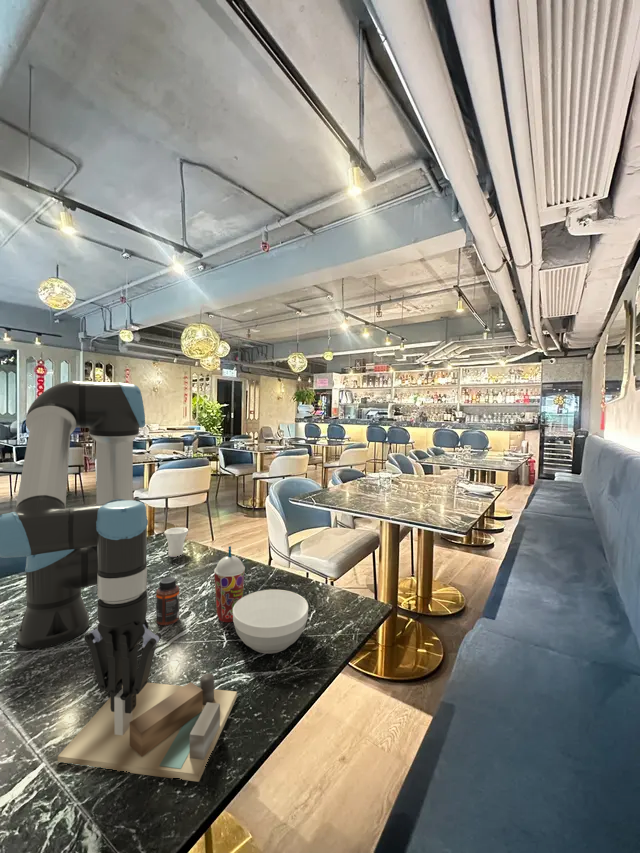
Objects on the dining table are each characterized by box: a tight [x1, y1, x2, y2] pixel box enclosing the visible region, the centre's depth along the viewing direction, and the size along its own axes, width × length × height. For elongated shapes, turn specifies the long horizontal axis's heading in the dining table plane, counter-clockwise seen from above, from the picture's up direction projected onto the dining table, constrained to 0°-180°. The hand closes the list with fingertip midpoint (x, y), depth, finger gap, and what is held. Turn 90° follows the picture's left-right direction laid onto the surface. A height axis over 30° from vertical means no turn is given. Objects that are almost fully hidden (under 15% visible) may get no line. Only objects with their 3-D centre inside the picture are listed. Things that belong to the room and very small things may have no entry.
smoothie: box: [213, 545, 246, 623], centre depth 108 cm, size 8×8×20 cm
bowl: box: [233, 589, 309, 655], centre depth 98 cm, size 19×19×9 cm
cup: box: [163, 526, 189, 558], centre depth 154 cm, size 9×9×10 cm
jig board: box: [57, 673, 238, 783], centre depth 71 cm, size 24×18×6 cm
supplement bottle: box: [155, 576, 180, 626], centre depth 106 cm, size 6×6×11 cm
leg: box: [130, 681, 203, 757], centre depth 69 cm, size 12×4×4 cm, turn 145°
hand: (123, 728), depth 67 cm, fingers closed
